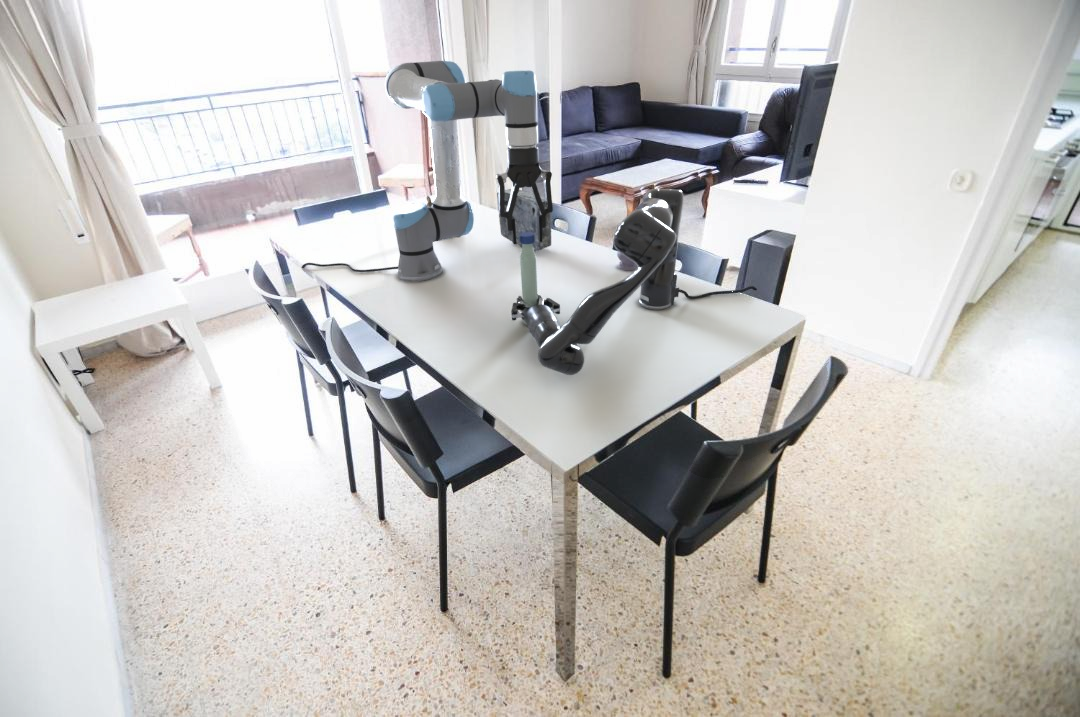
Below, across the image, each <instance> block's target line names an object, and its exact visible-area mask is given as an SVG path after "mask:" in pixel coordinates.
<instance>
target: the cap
mask: <svg viewBox="0 0 1080 717" xmlns="http://www.w3.org/2000/svg"><path fill="white" fill-rule="evenodd" d="M519 238H520V243H521V244H532V243H534V242H535V236H534V233H532V232H523V233H521V234H520V236H519Z"/></svg>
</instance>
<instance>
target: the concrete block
mask: <svg viewBox="0 0 1080 717" xmlns="http://www.w3.org/2000/svg"><path fill="white" fill-rule="evenodd" d="M511 190H512V188H508V189H505V211H507V207H508V203H509V199H510V195H511ZM539 195H540V197H541V200H542V203H543V206H544V208H545V207H546V201H545V195H541V194H539ZM496 197H497V208H498V210H499V191H498V192H497V193H496ZM537 214H540V212H539V209H538V206H537V203H536V201H535V198H534V195H533V192H532V191H527V190H522V189H519V192H518V195H517V199H516V203H515V207H514V211H513V215H512V216H514V218H515V228H516V244H515V245H517V246H519V247H521V248H523V247H522V244H521V243H520V238H519V236H520V234H521V233H523V232H532V233H534V236H535V242H534V243H532V247H533V250H534V251H542V250H544V249H546V248H548V247H551V245H552V212H551V213H548V214H547V215H546V227H545V228H542V240H543V242H539V240H538V234H537ZM498 219H499V221H498V222H499V228H500V234H501V236H503V238H505V239H507V240H508V241H511V242H512V233H511V231H508V229H507V220H506V218H505V217H501V216H500V214H499V213H498Z"/></svg>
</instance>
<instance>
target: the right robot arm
mask: <svg viewBox="0 0 1080 717" xmlns="http://www.w3.org/2000/svg"><path fill="white" fill-rule="evenodd" d="M684 202H685V196H684V192H683V191H682V190H681V189H674V188H673V189H670V188H667V189H666V188H652V189H648V190H647V191H646V192H645V194H644V195H643V197H642V200H641V202H640V203H639V204H638V205H637V206H636V207H635V208H634V209H633V210H632V211H631V212H630V213H629V214H627V215H626V216H625V217H624V218H623V220H622V221H621V222H620V223H619V225H618V227H617V228H616V230H615V232H614V235H613V239H612V243H613V246H614V249H615V250H616V251H617V252H618V251H619V252H620V253H621V254H622V255H624V256H625V257H627V258H628V259H630V260H631V261H632V262H634V263H636V264H637V268H636V269H634V270H632V272H631V273H630V274H629V275H627V276H626V277H624V278H623V279H621V280H619V281H617V282H615V283H613V284H610V285H607V286H605V287H602V288H600V289H598V290H596V291H593V292H591V293H590V294H589V295H587V296H586V297H584V299H583V300H582V301H580V303H579V304H578V306H577V308H576V309H575V310H574V312H573V313H572V315H571V316H570V317H569V319H567V321H566V322H565V323H564V324H562V325H561V324H560V322H559V320H558V318H557V317H556V315H560V314H561V304H560V303H558V302H556V301H555V300H553V299H552V298H550V297H547V298H545V299H544V298H543V297H542V296H541V295H540V294H539V293H537V296H538V304H537V305H530V304H528V303H527V302H526V303H525V302H523V299H522V295H518V296H517V297H516V302H513V303H512V305H511V310H510V314H511V321H516V320H517V319H521V320H523V321H524V320H525V322H526V324H527V325H526V324H525V325H526V327H527V328H528V330H529V333H530V334H531V336H532V337H533V339H534V340H535V342H536V344H537V345H538V347H539V349H538V352H537V358H538V362H539V363H540V365H541V366H542V367H544V368H547V369H549V370H552V371H555V372H558V373H560V374H563V375H566V376H574V375H576V374H578V373H580V372H581V370H582V369H583V367H584V365H585V354H584V351H583V349H582V347H581V346H580V345H589V344H591V343H592V342H593V341H594V340H595V339H596V337H597V336H598V335H599V334H600V332H601V331H602V329H603V328H604V327H605V326H606V324H607V323H608V322H609V320H610V319H611V318H612V317H613V315H614V314H615V313H616V312H617V311H618V310H619V309H620V308H621V307H622V305H624V304H625V303H626V301H628V299H629V298H631V296H632V295H633V294H635V293H636V291H637V290H638V289H639V288H640V293H639V301H638V302H639V305H640V306H641V307H643V308H645V309H648V310H653V311H660V310H666V309H669V308H670V307H671V306H675V299H676V298H679V293H681V294H683V295H684V296H685V298H687V299H689V300H696V299H697V300H698V299H702V298H706V297H710V296H715V295H716V296H717V295H728V294H731V295H732V294H740V293H744V292H747V291H749V290H753V291H758V289H757V287H756V286H754V285H749V286H746V287H744V288H741V289H734V290H733V289H732V290H731V289H730V290H717V291H710V292H705V293H703V294H699V295H689V293H688V292H687V291H685V290H684V289H682V288H680V287H679V286H677V281H678V274H676V264H677V257H678V256H677V254H678V247H679V237H680V236H679V234H680V228H681V223H682V222H681V221H682V216H683V209H684ZM732 291H733V292H732ZM555 314H556V315H555Z"/></svg>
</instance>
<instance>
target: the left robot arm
mask: <svg viewBox="0 0 1080 717" xmlns="http://www.w3.org/2000/svg"><path fill="white" fill-rule="evenodd" d="M501 79H502V80H501ZM501 79H498V78H497V79H496V78H495V79H488V80H482V81H481V80H479V81H467V80H466V77H465V75H464V72H463V71H462V68H461V67H460V66H459V64H458V63H456V62H454V61H451V60H434V61H433V60H432V61H417V62H404V63H400V64H398V65H396V66H394V67H393V68H391V69H390V70H389V72H388V73H387V75H386V77H385V81H384V90H385V94H386V96H387V98H388V99H389V101H390V102H391V103H392V104H393V105H395V106H397V107H398V108H402V109H405V110H406V109H407V110H409V109H417V110H419V111H422V113H423V114H424V115H425V116H426V118H428V127H429V137H430V147H431V148H430V149H431V159H432V169H433V180H434V191H435V192H434V193H435V195H434V196H433V197H432V198H431V203H432V206H431V207H427V203H424V202H423V203H422V202H417V203H410V204H406V205H403V206H401V207H399V208H397V209H396V210H395V211H394V213H393V215H392V219H393V228H394V230H395V231H394V232H395V236H396V241H397V247H398V251H399V259H398V265H397V266H389V267H382V268H381V267H380V268H370V269H356V268H353V266H352V265H350V264H348V263H343V262H340V263H339V262H337V263H325V264H324V263H323V264H320V263H314V262H306V263H303V265H302V266H301V269H304V268H305V267H306V266H313V267H314V266H315V267H319V268H320V267H321V268H323V267H337V266H342V267H343V266H344V267H345V266H346V267H348V268H349V269H350V270H351V271H352V272H356V273H372V272H382V271H391V270H397V276H398V278H399V279H400V280H402V281H406V282H413V283H414V282H425V281H429V280H432V279H435V278H438V277H439V276H440V275H441V274H442V273H443V268H442V264H441V263H440V260H439V259H438V256H437V254H436V252H435V250H434V243H435V242H440V241H446V240H450V239H455V238H460V237H463V236H466V235H469V234H470V232H471V231H472V230H473V227H474V219H475V218H474V217H475V216H474V212H473V207H472V205H471V203H470V202H469V201H468V200H467V198H466V197H465V196H464V195H463V194H462V183H461V170H460V169H461V166H460V151H459V150H460V148H459V133H458V120H465V119H478V118H488V117H504V124H505V125H504V126H505V140H506V142H505V143H506V145H507V146H508V147H507V149H506V156H507V157H506V158H507V169H506V170H505V172H503V173H497V174H496V175H495V178H496V181H497V184H498V192H499V209H498V215H499V214H500V216H501V217H505V218H506V220H507V229H508V231H511V233H512V241H511V243H512V244H513V245H517V244H516V228H515V218H514V216H512V215H513V211H514V207H515V203H516V199H517V195H518V192H519V190H520V189H522V188H530V189H531V193H533V195H534V198H535V201H536V203H537V206H538V209H539V212H540V214H537V234H538V240H539V242H543V240H542V228H545V227H546V215H547V214H548V213H551V214H552V213H553V211H554V207H553V196H552V186H551V180H552V176H553V172H551V171H550V170H549V169H546V170H545V169H542V168H541V166H540V154H539V152H540V151H539V149H540V148H539V147H538V146H537V145H538V144H539V128H538V127H539V124H538V121H539V120H538V88H537V77H536V74H535V72H534V71H533V70H530V69H529V70H508V71H504V72H503V74H502V78H501ZM540 176H541V179H542V180H543V190H544V197H545V201H546V207H545V208H544V206H543V203H542V200H541V197H540V195H541V194H540V192H539V188H538V185H537V181H538V179H539V177H540ZM507 178H508V179H509V180H510V181H511V182H512V185H511V189H512V190H511V195H510V199H509V203H508V207H507V211H505V190H506V189H505V184H506V183H507Z"/></svg>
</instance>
